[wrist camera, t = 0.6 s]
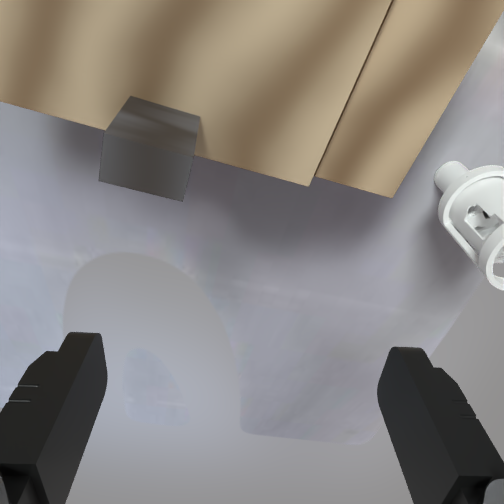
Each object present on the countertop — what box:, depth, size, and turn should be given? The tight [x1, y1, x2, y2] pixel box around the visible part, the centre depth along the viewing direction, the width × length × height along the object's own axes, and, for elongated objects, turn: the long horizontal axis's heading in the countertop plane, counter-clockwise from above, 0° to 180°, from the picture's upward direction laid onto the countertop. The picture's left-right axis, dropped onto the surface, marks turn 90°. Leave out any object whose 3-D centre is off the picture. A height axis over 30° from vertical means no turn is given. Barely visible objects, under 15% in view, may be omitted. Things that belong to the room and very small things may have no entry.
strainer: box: [434, 161, 504, 290], centre depth 34 cm, size 7×7×15 cm
